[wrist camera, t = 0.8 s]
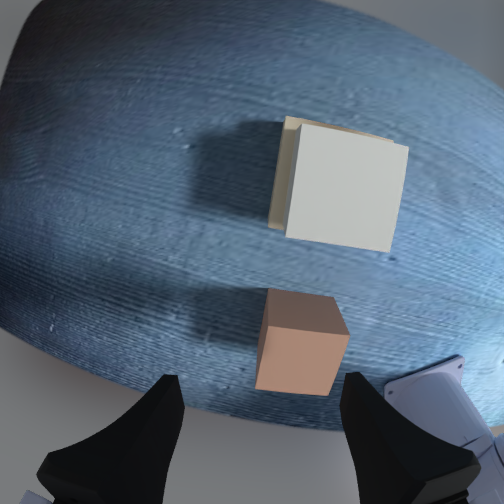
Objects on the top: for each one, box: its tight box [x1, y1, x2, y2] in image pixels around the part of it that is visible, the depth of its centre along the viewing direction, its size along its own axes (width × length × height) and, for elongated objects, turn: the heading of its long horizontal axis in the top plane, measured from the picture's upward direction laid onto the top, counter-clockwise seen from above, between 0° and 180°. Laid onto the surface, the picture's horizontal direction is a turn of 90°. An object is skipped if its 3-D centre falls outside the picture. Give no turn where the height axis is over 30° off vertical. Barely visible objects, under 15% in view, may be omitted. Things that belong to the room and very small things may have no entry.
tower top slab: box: [283, 124, 409, 253], centre depth 14 cm, size 5×5×3 cm
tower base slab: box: [268, 116, 394, 230], centre depth 17 cm, size 6×6×3 cm
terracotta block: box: [255, 288, 350, 396], centre depth 19 cm, size 4×4×5 cm
